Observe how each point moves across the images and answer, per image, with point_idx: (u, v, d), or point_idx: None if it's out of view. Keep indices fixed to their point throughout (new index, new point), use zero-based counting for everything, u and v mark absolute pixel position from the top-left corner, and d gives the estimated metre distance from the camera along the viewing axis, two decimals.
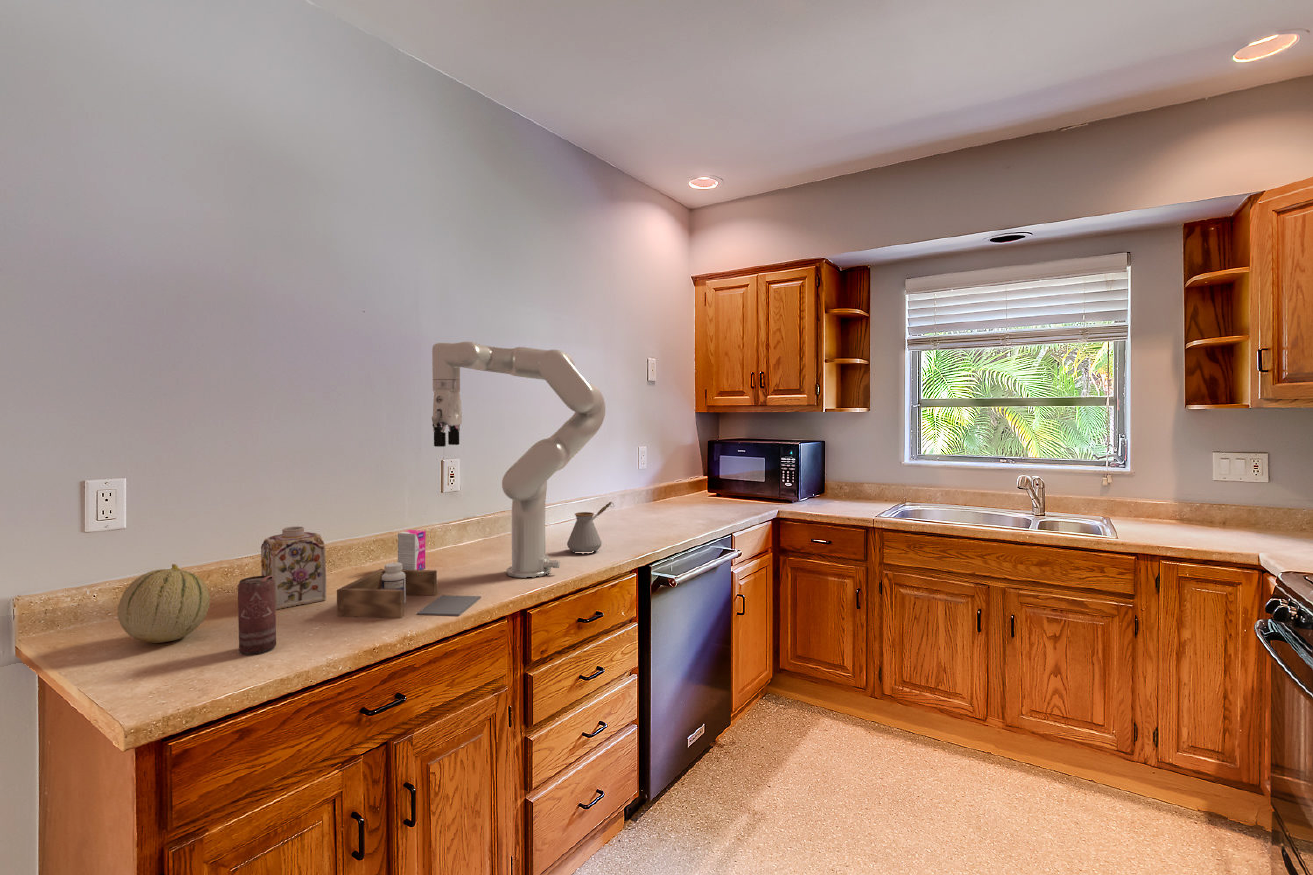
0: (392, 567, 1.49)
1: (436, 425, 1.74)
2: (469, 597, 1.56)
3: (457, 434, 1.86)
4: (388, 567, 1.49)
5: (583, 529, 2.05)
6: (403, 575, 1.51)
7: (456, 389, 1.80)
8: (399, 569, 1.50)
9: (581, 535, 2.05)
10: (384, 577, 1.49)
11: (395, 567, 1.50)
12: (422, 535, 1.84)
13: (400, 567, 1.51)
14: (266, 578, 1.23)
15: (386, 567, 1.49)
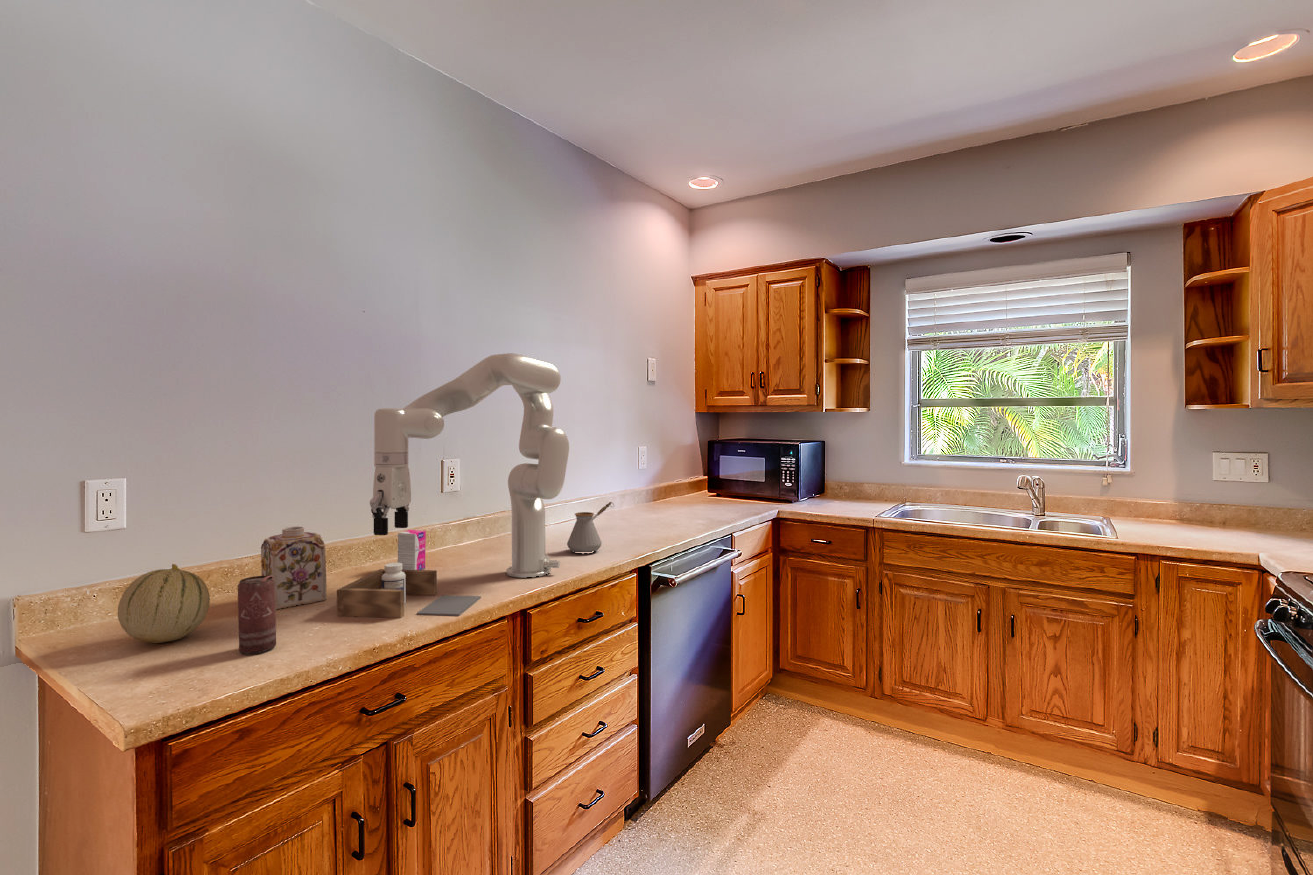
0: (392, 567, 1.49)
1: (375, 510, 1.43)
2: (469, 597, 1.56)
3: (405, 515, 1.55)
4: (388, 567, 1.49)
5: (583, 529, 2.05)
6: (403, 575, 1.51)
7: (403, 464, 1.49)
8: (399, 569, 1.50)
9: (581, 535, 2.05)
10: (384, 577, 1.49)
11: (395, 567, 1.50)
12: (422, 535, 1.84)
13: (400, 567, 1.51)
14: (266, 578, 1.23)
15: (386, 567, 1.49)
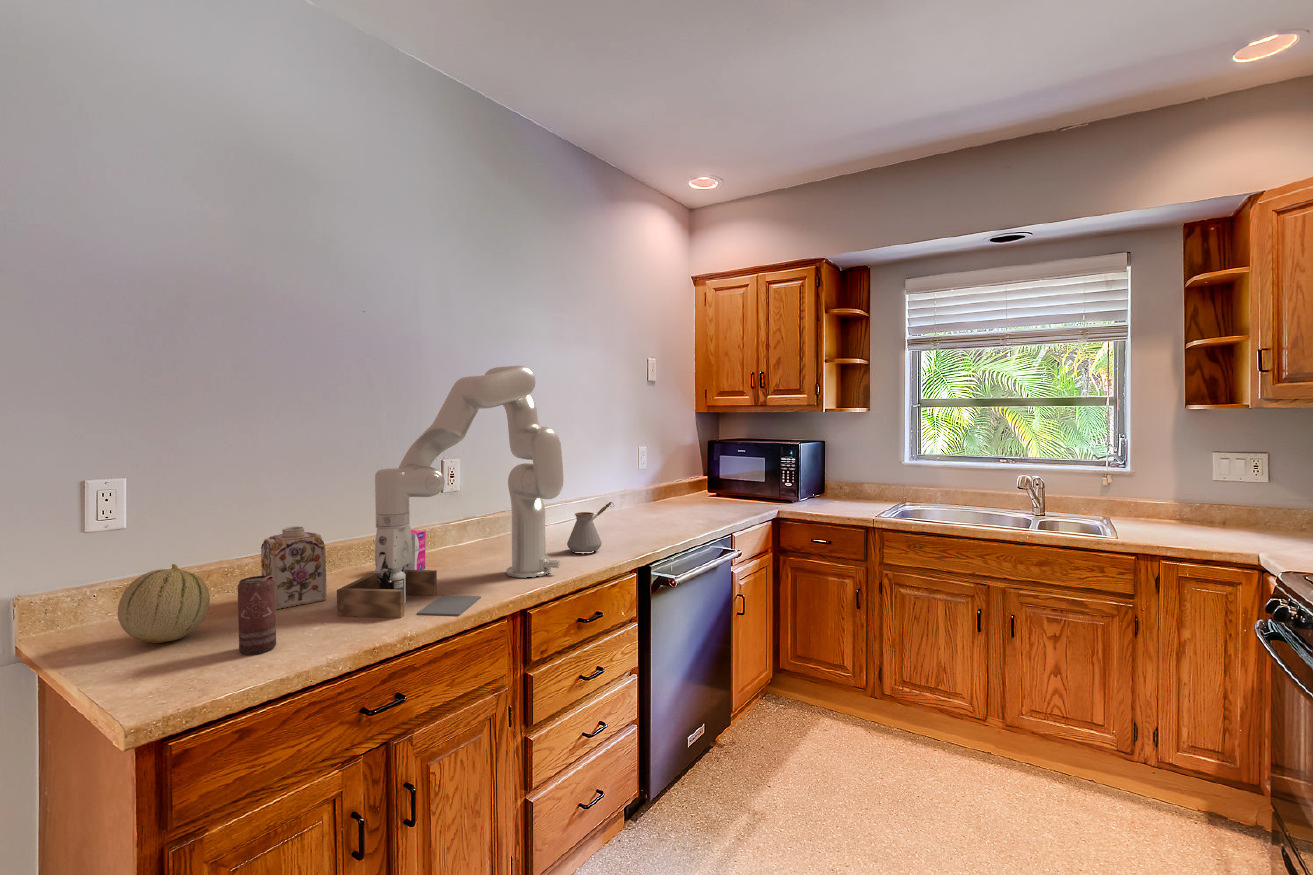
0: None
1: (382, 576, 1.45)
2: (469, 597, 1.56)
3: None
4: (388, 567, 1.49)
5: (583, 529, 2.05)
6: (403, 575, 1.51)
7: (404, 525, 1.49)
8: (399, 569, 1.50)
9: (581, 535, 2.05)
10: None
11: None
12: (422, 535, 1.84)
13: None
14: (266, 578, 1.23)
15: (386, 567, 1.49)
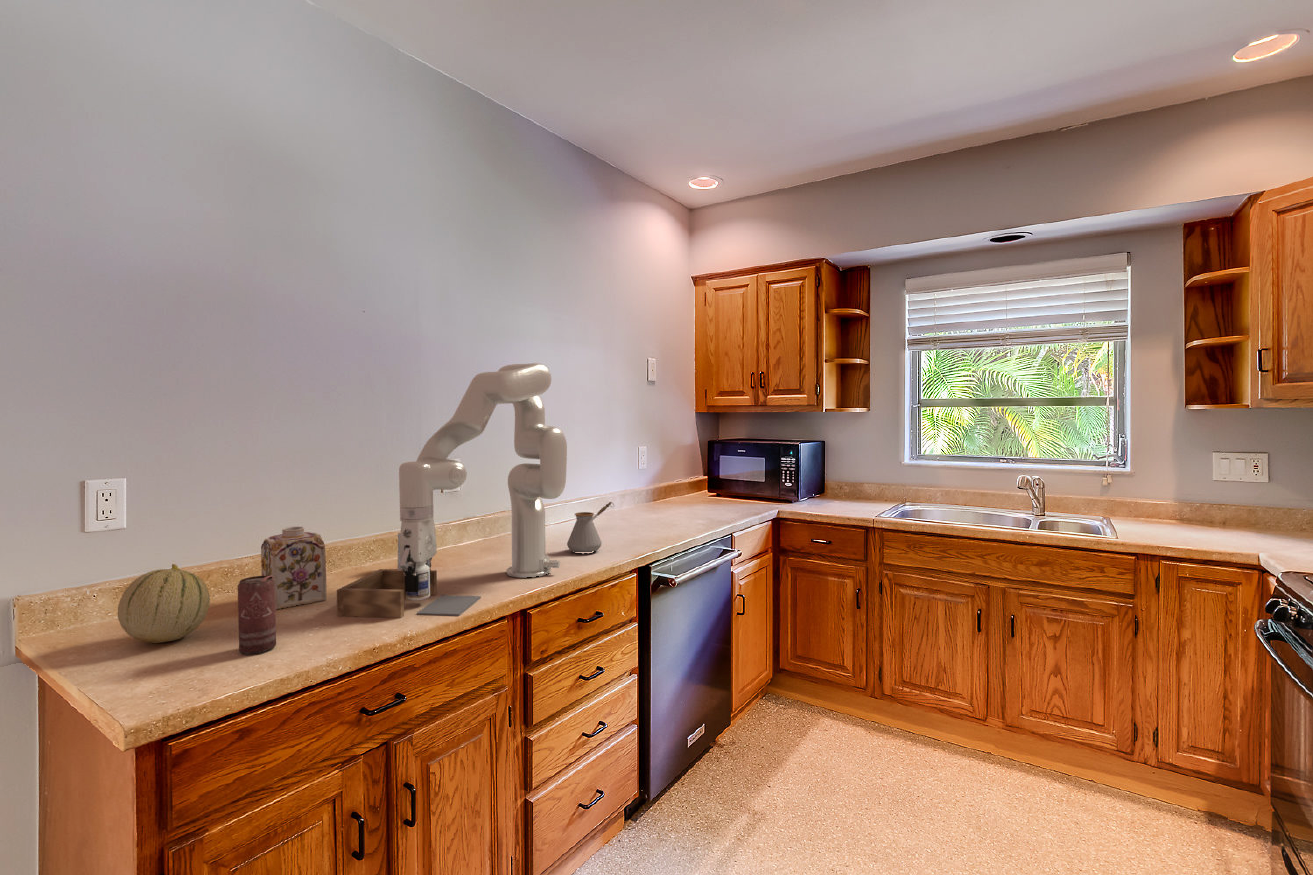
0: None
1: (407, 569, 1.45)
2: (469, 597, 1.56)
3: None
4: (412, 560, 1.49)
5: (583, 529, 2.05)
6: (427, 568, 1.51)
7: (428, 518, 1.49)
8: (423, 562, 1.50)
9: (581, 535, 2.05)
10: None
11: None
12: None
13: None
14: (266, 578, 1.23)
15: (410, 560, 1.49)
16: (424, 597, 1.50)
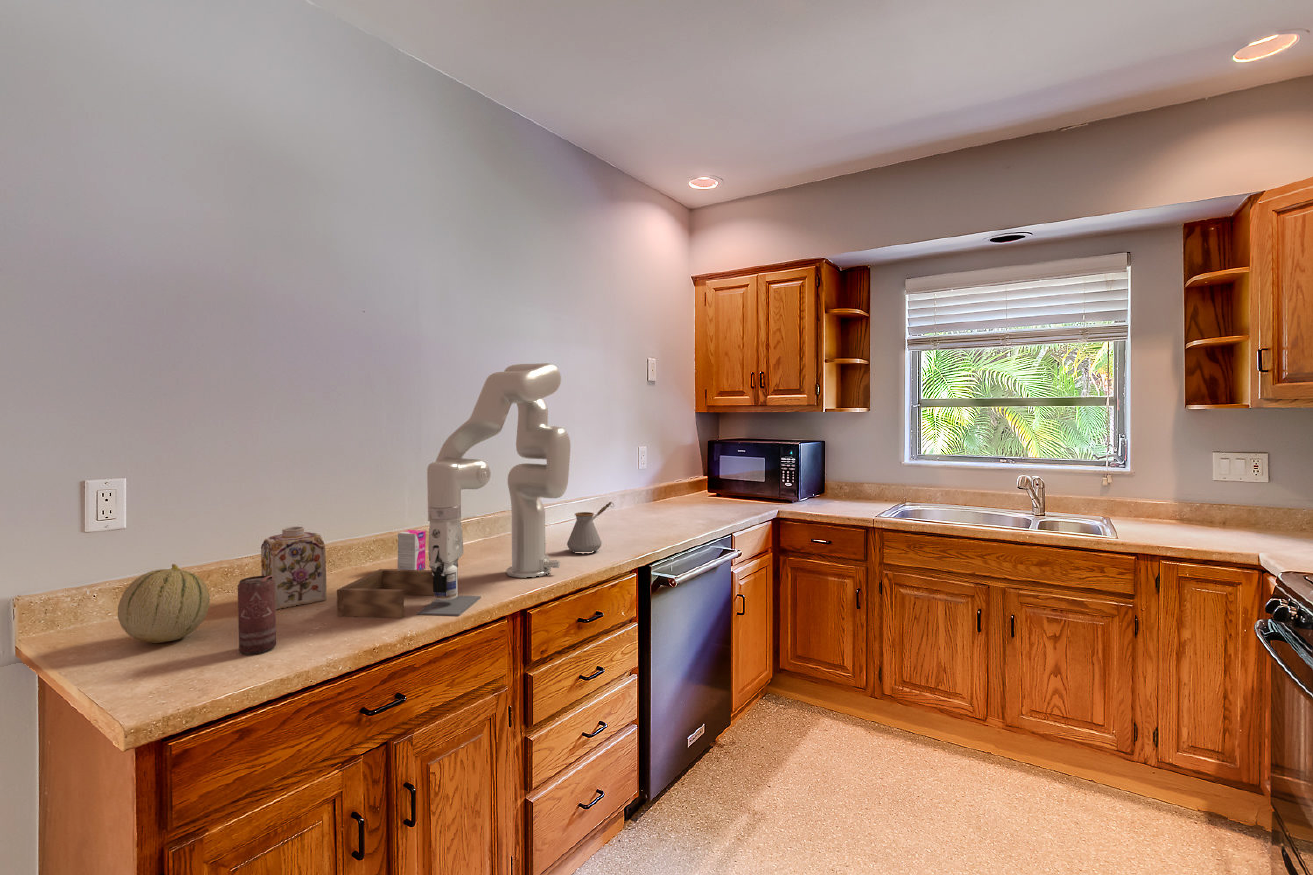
0: None
1: (436, 570, 1.44)
2: (469, 597, 1.56)
3: None
4: (440, 560, 1.48)
5: (583, 529, 2.05)
6: (455, 568, 1.50)
7: (456, 518, 1.48)
8: (451, 562, 1.49)
9: (581, 535, 2.05)
10: None
11: None
12: (422, 535, 1.84)
13: None
14: (266, 578, 1.23)
15: (438, 560, 1.49)
16: (452, 597, 1.49)
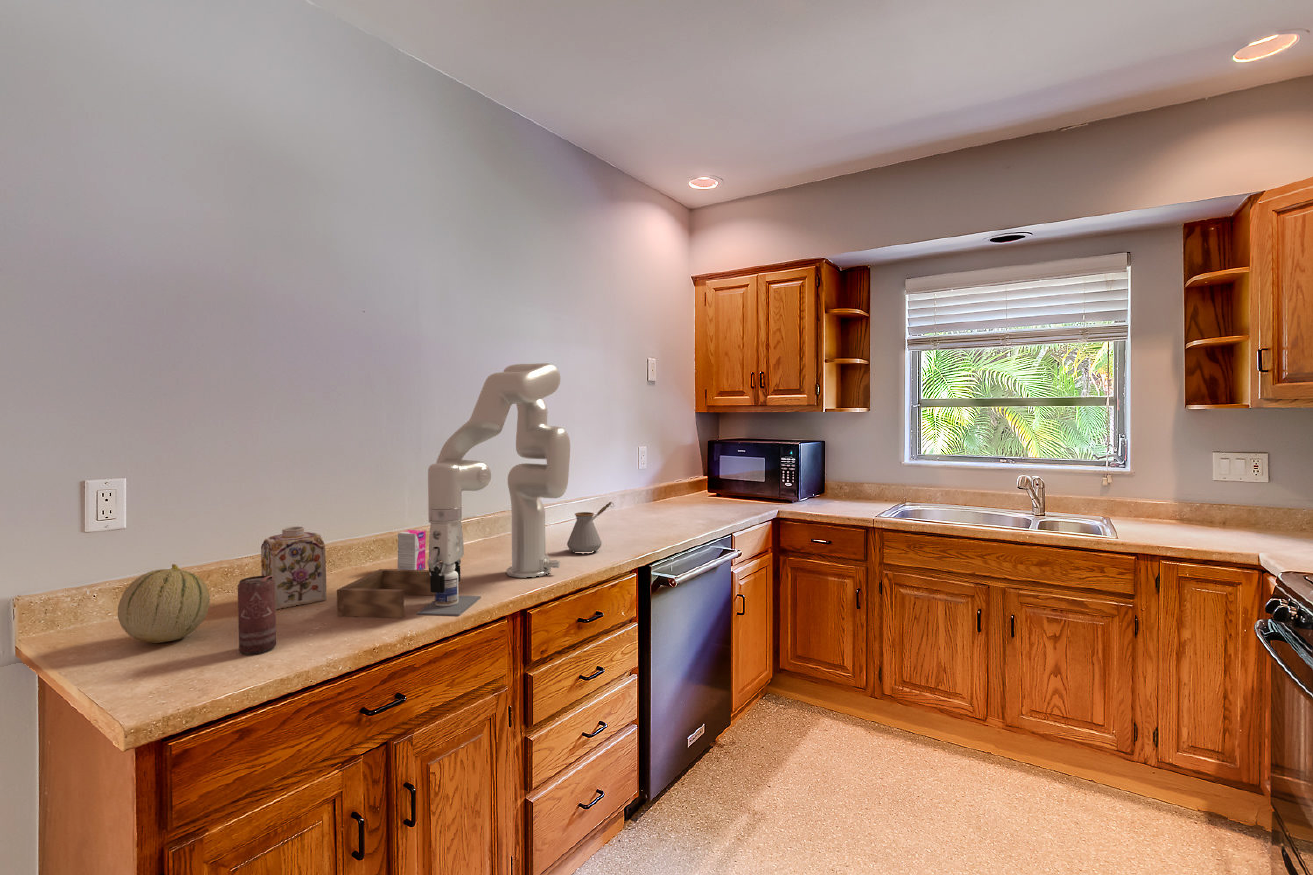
0: (446, 566, 1.48)
1: (433, 569, 1.43)
2: (469, 597, 1.56)
3: (457, 569, 1.54)
4: None
5: (583, 529, 2.05)
6: (456, 574, 1.50)
7: (457, 519, 1.48)
8: (452, 568, 1.49)
9: (581, 535, 2.05)
10: None
11: (449, 566, 1.49)
12: (422, 535, 1.84)
13: (453, 566, 1.50)
14: (266, 578, 1.23)
15: (440, 566, 1.49)
16: (453, 603, 1.49)
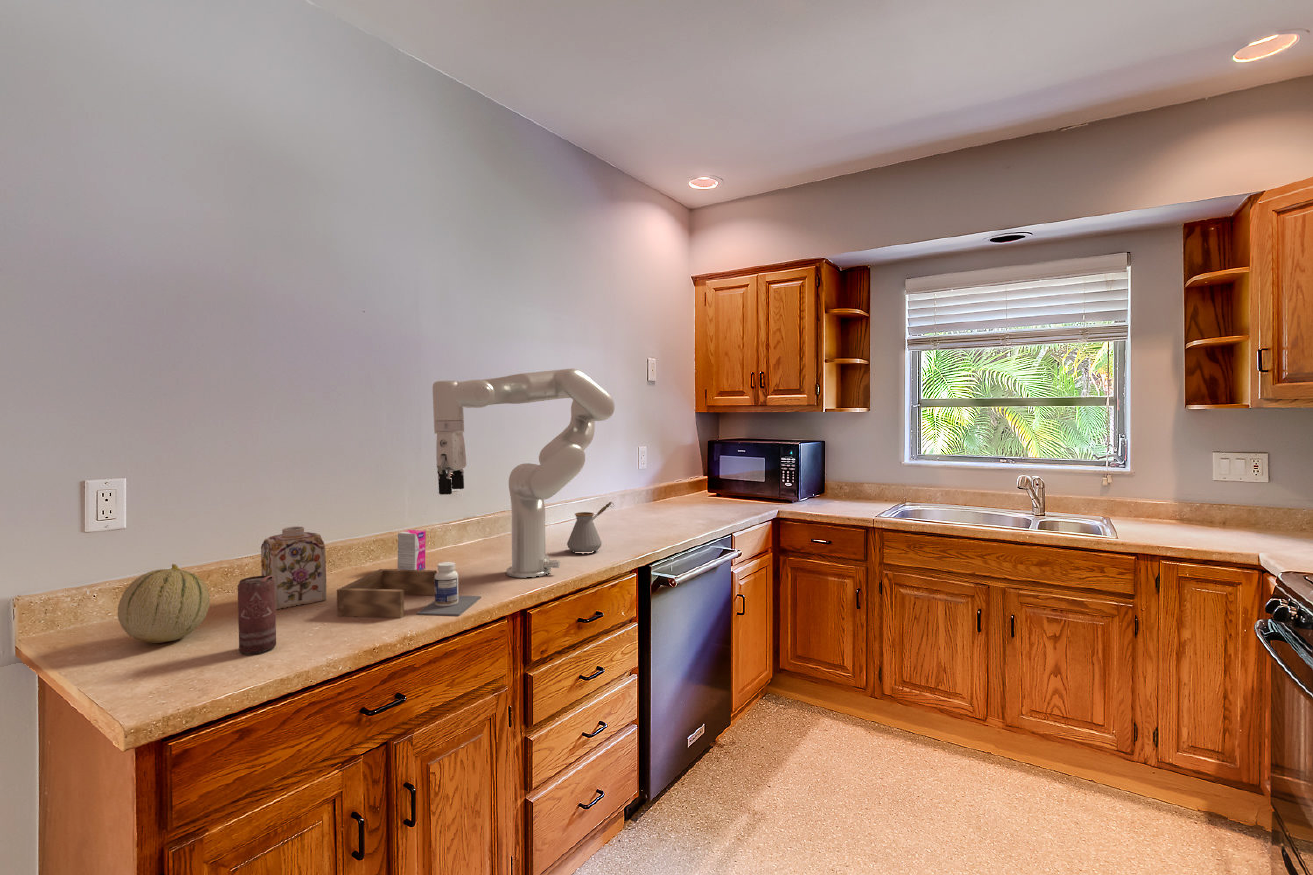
0: (446, 566, 1.48)
1: (441, 472, 1.59)
2: (469, 597, 1.56)
3: (461, 477, 1.72)
4: (442, 566, 1.48)
5: (583, 529, 2.05)
6: (456, 574, 1.50)
7: (460, 430, 1.65)
8: (452, 568, 1.49)
9: (581, 535, 2.05)
10: (437, 576, 1.48)
11: (449, 566, 1.49)
12: (422, 535, 1.84)
13: (453, 566, 1.50)
14: (266, 578, 1.23)
15: (440, 566, 1.49)
16: (453, 603, 1.49)
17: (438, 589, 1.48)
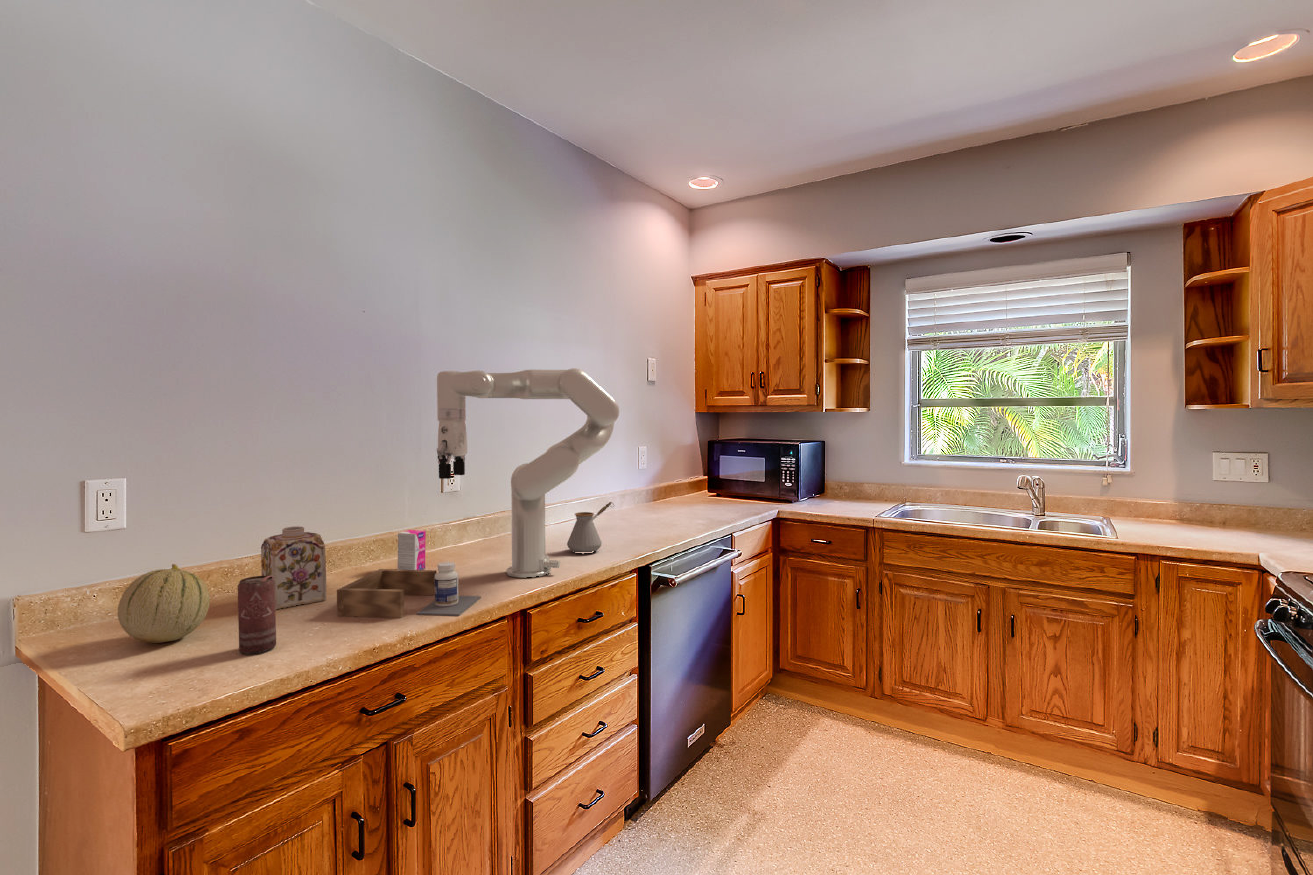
0: (446, 566, 1.48)
1: (441, 457, 1.68)
2: (469, 597, 1.56)
3: (462, 464, 1.80)
4: (442, 566, 1.48)
5: (583, 529, 2.05)
6: (456, 574, 1.50)
7: (462, 419, 1.74)
8: (452, 568, 1.49)
9: (581, 535, 2.05)
10: (437, 576, 1.48)
11: (448, 566, 1.49)
12: (422, 535, 1.84)
13: (453, 566, 1.50)
14: (266, 578, 1.23)
15: (439, 566, 1.49)
16: (453, 603, 1.49)
17: (438, 589, 1.48)
